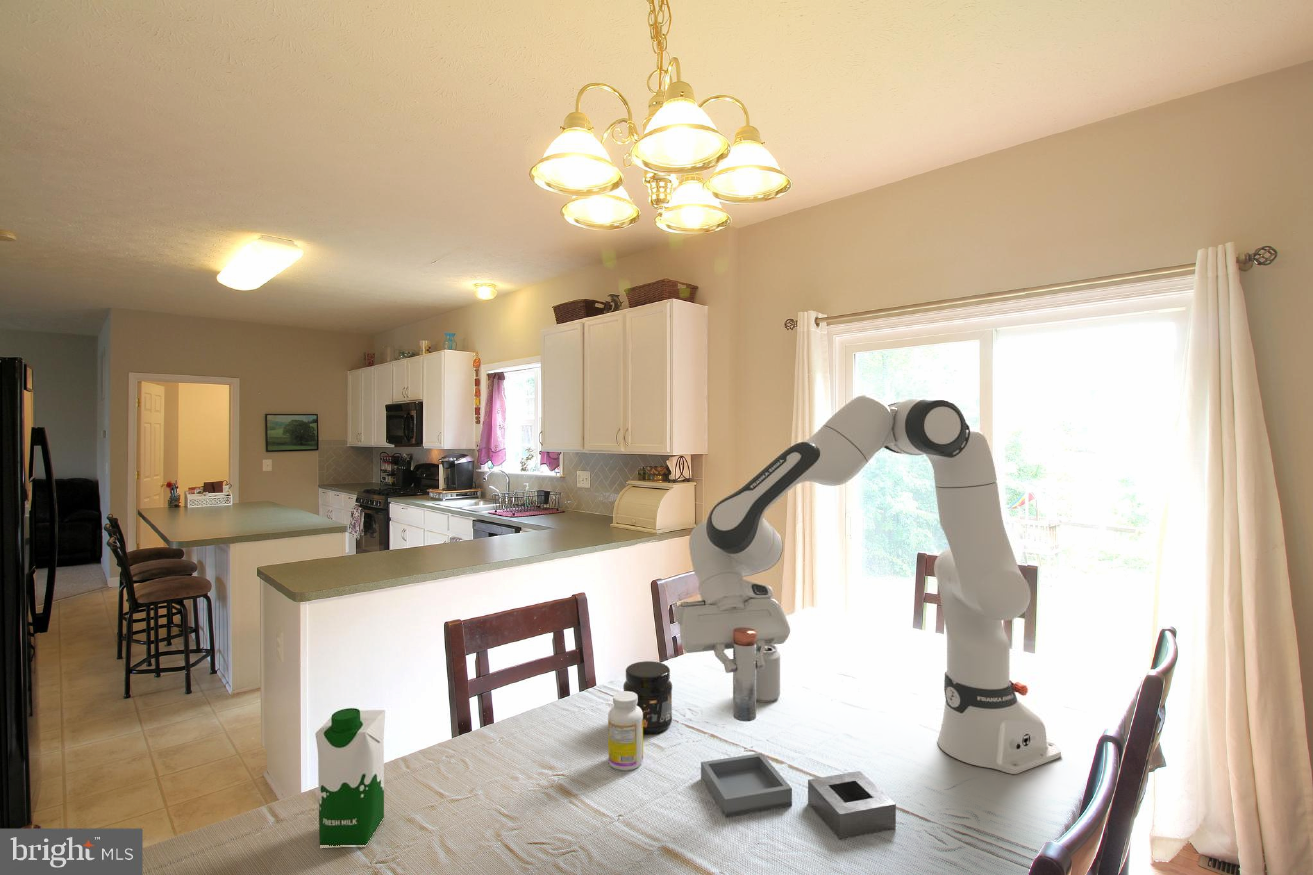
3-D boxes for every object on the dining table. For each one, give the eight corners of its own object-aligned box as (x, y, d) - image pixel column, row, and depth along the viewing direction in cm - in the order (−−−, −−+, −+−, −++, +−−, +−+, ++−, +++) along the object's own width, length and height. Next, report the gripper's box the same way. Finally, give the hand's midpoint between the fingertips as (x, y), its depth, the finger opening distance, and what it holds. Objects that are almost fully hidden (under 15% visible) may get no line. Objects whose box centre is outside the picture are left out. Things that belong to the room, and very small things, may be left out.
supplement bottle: (624, 750, 125) (624, 685, 125) (650, 761, 121) (650, 694, 121) (601, 764, 120) (600, 696, 120) (626, 776, 116) (626, 706, 116)
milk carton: (310, 853, 95) (308, 721, 95) (338, 816, 104) (337, 695, 104) (369, 851, 95) (368, 720, 95) (392, 815, 104) (391, 694, 104)
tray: (761, 768, 118) (761, 752, 118) (791, 805, 107) (791, 788, 107) (701, 778, 115) (700, 761, 115) (725, 817, 104) (725, 799, 104)
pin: (750, 709, 113) (750, 626, 113) (759, 719, 109) (760, 633, 109) (729, 712, 112) (729, 628, 112) (738, 722, 108) (738, 635, 108)
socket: (859, 793, 110) (859, 770, 110) (895, 828, 101) (895, 803, 101) (807, 802, 108) (807, 779, 108) (839, 839, 98) (839, 814, 98)
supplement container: (613, 724, 136) (613, 668, 136) (648, 708, 144) (648, 656, 144) (647, 741, 129) (646, 682, 129) (682, 724, 136) (682, 668, 136)
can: (779, 704, 146) (780, 653, 145) (747, 702, 147) (747, 650, 147) (780, 691, 153) (780, 642, 153) (748, 689, 154) (748, 640, 154)
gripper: (676, 593, 114) (693, 667, 105) (779, 586, 120) (804, 655, 111) (669, 611, 119) (685, 683, 109) (769, 603, 124) (792, 671, 115)
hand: (746, 669), depth 110 cm, fingers closed on pin, 4 cm apart
